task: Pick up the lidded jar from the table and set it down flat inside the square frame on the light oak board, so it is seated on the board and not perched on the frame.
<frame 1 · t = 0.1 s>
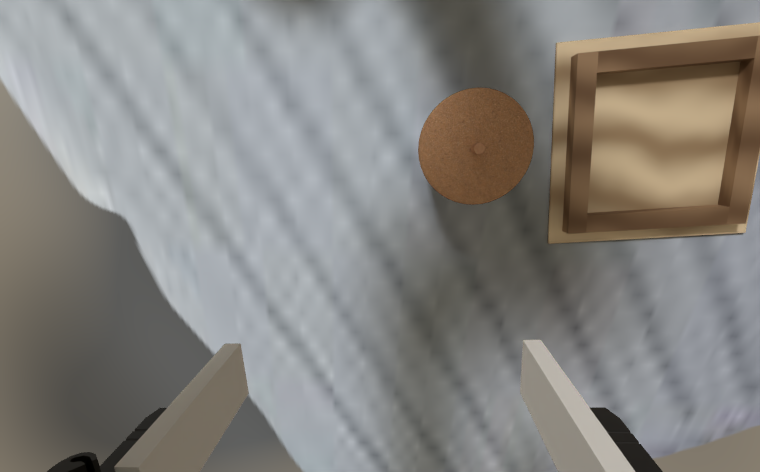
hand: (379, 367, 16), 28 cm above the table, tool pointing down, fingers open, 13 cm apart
lidded jar: (461, 148, 40), on the table
oak board: (653, 142, 39), on the table
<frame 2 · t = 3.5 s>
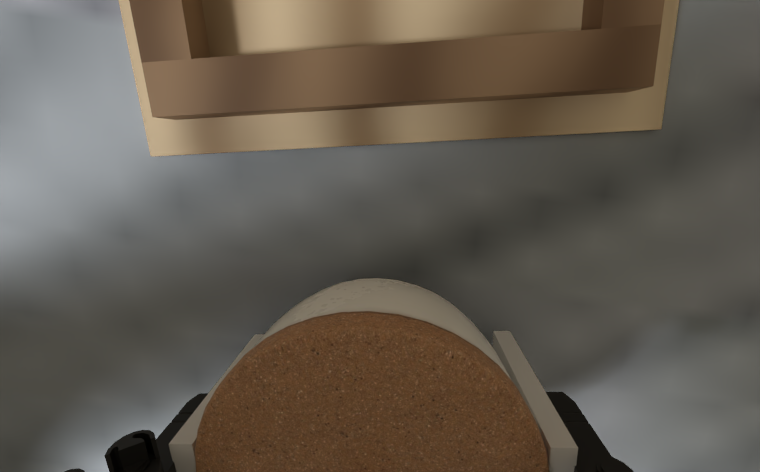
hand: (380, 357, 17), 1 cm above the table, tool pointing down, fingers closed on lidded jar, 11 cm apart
lidded jar: (381, 344, 18), on the table, touching gripper
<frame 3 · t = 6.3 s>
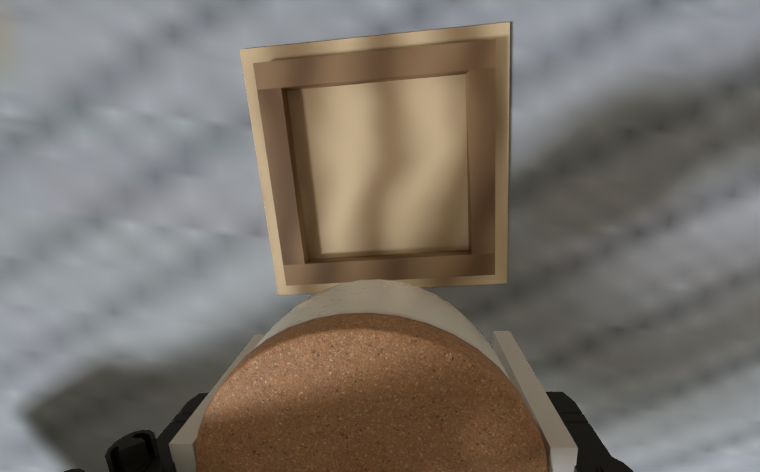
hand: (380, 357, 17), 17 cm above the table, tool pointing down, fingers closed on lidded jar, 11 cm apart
lidded jar: (381, 345, 18), point 15 cm above the table, touching gripper
oak board: (381, 173, 31), on the table
when the fingers open (3 cm above the table, at t = 9.5 s): lidded jar drops 2 cm, resting on oak board.
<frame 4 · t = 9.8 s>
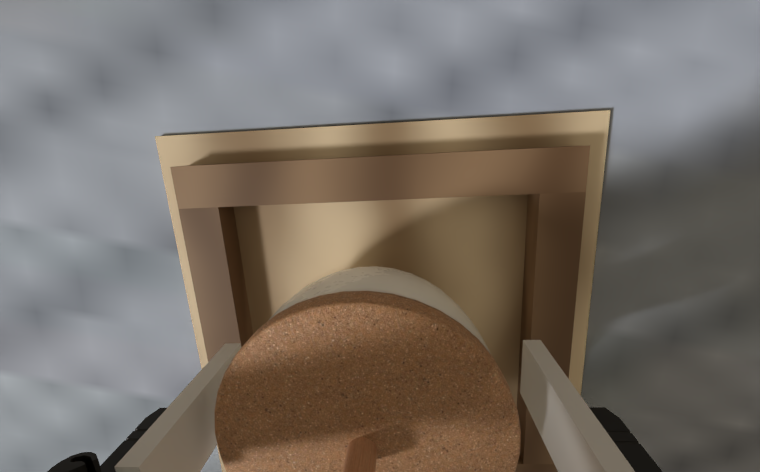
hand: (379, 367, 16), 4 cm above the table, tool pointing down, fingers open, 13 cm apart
lidded jar: (378, 329, 20), resting on oak board
oak board: (383, 327, 20), on the table
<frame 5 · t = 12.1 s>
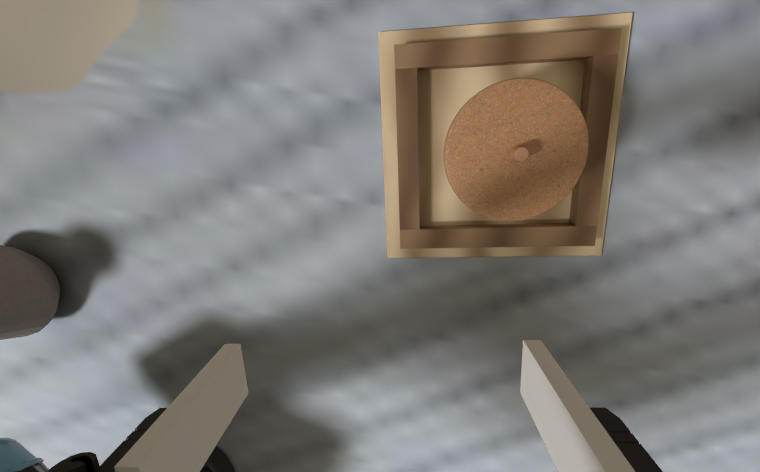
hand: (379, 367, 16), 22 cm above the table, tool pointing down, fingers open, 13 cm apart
coffee pot: (7, 298, 45), on the table
lidded jar: (492, 150, 34), resting on oak board
oak board: (494, 149, 34), on the table
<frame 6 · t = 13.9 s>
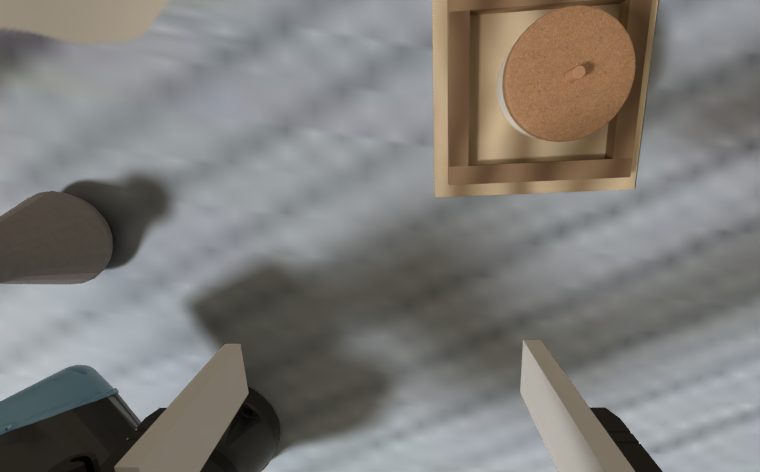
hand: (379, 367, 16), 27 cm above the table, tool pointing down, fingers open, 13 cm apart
coffee pot: (57, 250, 46), on the table
lidded jar: (535, 90, 37), resting on oak board
oak board: (537, 90, 37), on the table
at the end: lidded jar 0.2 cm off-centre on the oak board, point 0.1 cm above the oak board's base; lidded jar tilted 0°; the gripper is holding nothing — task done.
